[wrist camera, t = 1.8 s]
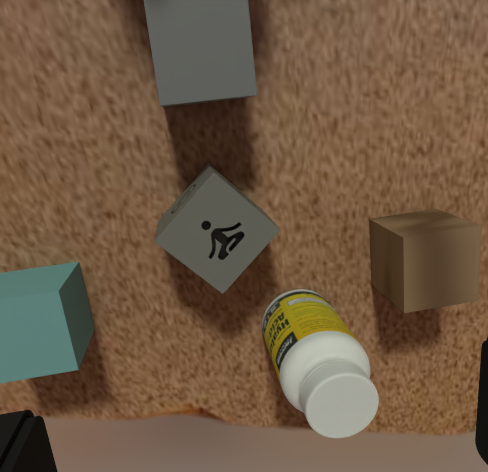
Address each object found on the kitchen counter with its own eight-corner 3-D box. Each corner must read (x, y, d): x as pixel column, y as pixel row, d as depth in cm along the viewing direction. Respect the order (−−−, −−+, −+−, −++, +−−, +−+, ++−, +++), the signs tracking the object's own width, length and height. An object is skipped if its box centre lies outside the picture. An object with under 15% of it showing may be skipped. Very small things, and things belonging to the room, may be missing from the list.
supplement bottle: (263, 285, 31) (300, 360, 21) (336, 288, 31) (402, 360, 22) (256, 353, 32) (287, 452, 23) (326, 354, 33) (384, 449, 24)
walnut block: (435, 208, 31) (481, 225, 26) (434, 273, 32) (478, 300, 28) (368, 218, 30) (403, 237, 26) (370, 283, 32) (404, 313, 27)
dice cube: (215, 265, 30) (222, 294, 25) (158, 220, 28) (154, 241, 24) (264, 211, 29) (280, 229, 24) (207, 162, 28) (213, 172, 23)
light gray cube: (234, 10, 26) (246, -13, 21) (243, 98, 27) (256, 94, 22) (149, 18, 25) (142, -5, 20) (163, 107, 27) (159, 105, 22)
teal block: (79, 261, 28) (58, 290, 24) (94, 329, 30) (78, 369, 25) (-1, 273, 28) (-38, 305, 23) (19, 341, 29) (-12, 385, 25)
